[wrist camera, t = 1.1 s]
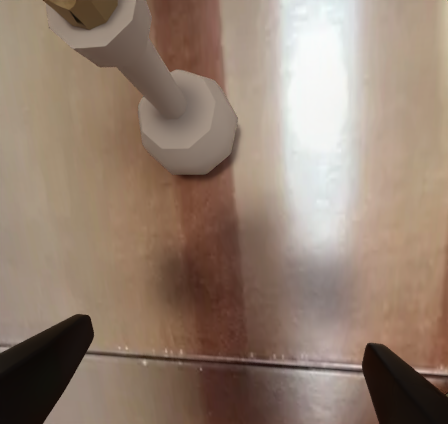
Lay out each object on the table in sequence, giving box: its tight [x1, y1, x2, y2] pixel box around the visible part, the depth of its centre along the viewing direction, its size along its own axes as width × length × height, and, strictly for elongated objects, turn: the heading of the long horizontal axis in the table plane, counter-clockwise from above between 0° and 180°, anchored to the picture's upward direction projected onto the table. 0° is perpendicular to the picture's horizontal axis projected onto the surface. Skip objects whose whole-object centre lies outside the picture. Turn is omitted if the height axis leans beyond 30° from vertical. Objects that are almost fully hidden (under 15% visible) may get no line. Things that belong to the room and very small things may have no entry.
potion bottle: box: [43, 0, 238, 175], centre depth 15 cm, size 9×9×18 cm
